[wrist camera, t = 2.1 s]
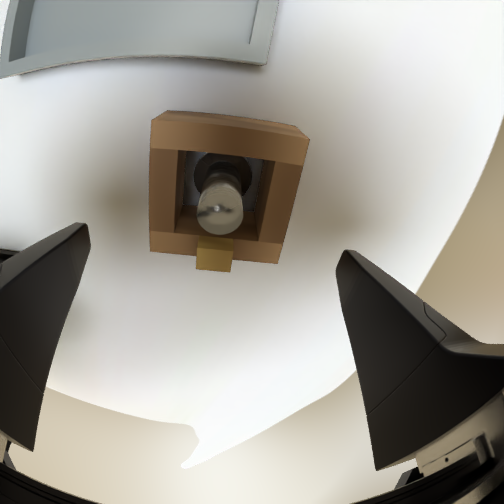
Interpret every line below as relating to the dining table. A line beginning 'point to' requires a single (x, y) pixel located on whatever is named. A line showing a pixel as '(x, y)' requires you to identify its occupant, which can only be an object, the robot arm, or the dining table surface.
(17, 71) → the tray
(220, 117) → the ring
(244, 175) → the metal knob
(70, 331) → the dining table surface
